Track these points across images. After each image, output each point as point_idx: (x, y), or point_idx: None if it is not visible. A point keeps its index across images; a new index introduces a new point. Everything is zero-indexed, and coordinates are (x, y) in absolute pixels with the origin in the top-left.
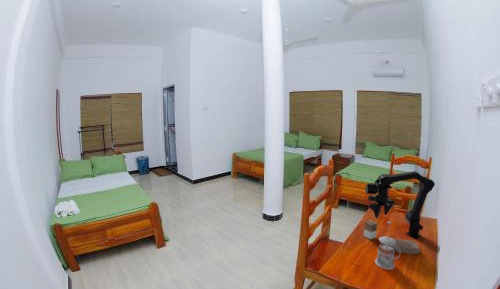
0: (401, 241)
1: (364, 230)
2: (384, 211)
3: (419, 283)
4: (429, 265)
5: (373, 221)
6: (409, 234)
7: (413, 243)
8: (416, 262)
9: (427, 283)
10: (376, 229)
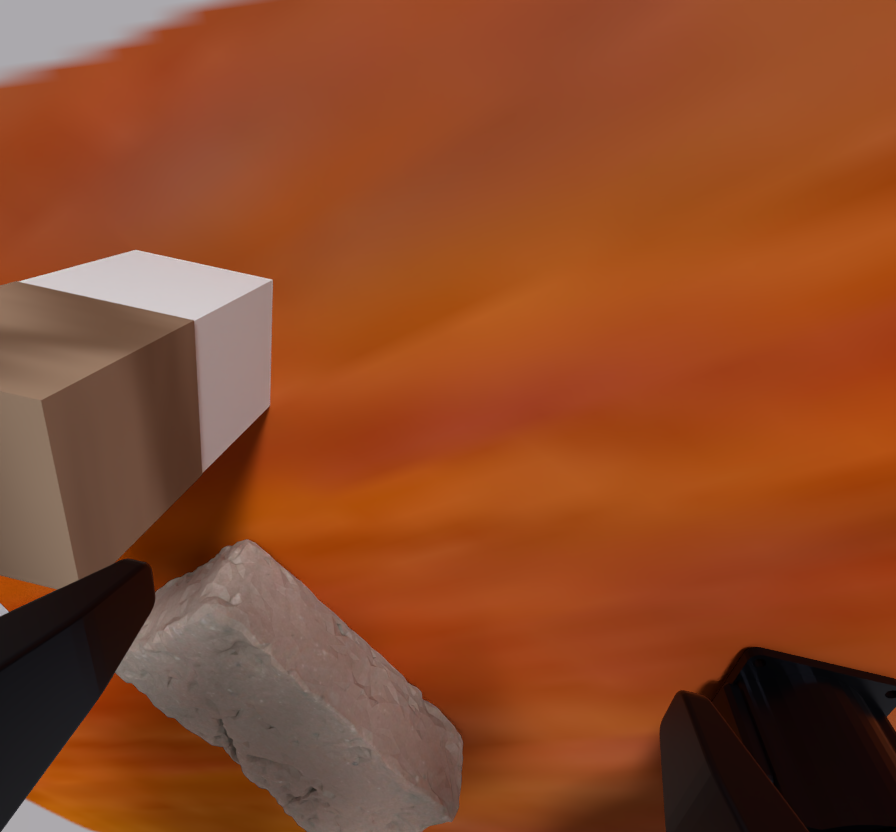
0: (312, 738)
1: (51, 274)
2: (734, 824)
3: (38, 801)
4: (286, 827)
5: (58, 497)
6: (719, 702)
7: (384, 820)
8: (232, 774)
9: (86, 825)
10: (181, 487)
